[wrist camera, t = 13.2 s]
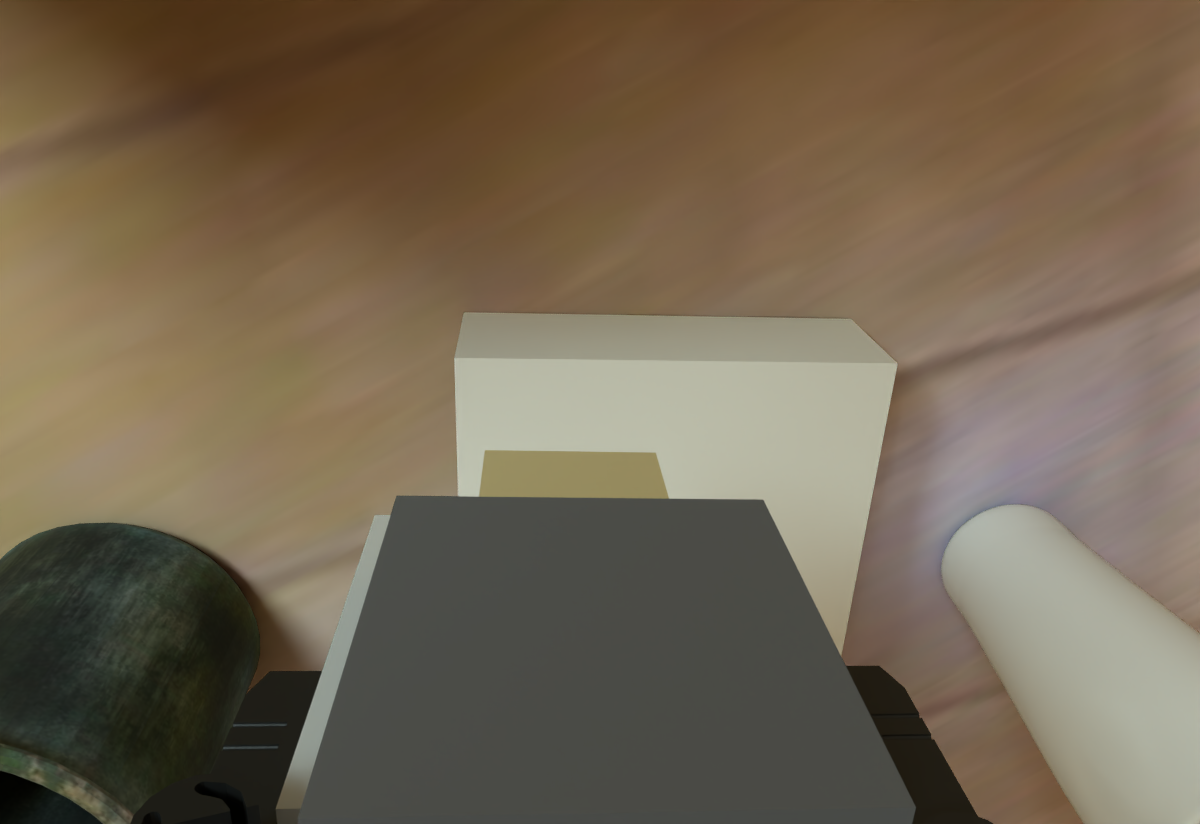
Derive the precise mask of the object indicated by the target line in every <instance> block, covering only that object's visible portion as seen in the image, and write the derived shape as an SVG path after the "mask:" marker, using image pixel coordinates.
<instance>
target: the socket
mask: <svg viewBox="0 0 1200 824" xmlns="http://www.w3.org/2000/svg"><path fill="white" fill-rule="evenodd" d="M454 363H455V400H456V436H457V473H458V496H468V497H479V492H480V484H481V476H482V468H483V460H484V452H485V450H512V451H581V452H650V453H656V455H657V459H658V462H659V466H660V469H661V472H662V476H663V479H664V483H665V486H666V490H667V493H668V497H669V499H757V500H764V502H765V504H766V506H767V508H768V510H769V512H770V514H771V516H772V518H773V520H774V522H775V524H776V526H777V528H778V530H779V532H780V534H781V536H782V538H783V540H784V542H785V544H786V546H787V548H788V551H789V553H790V555H791V557H792V559H793V561H794V563H795V565H796V567H797V569H798V571H799V573H800V575H801V577H802V579H803V581H804V583H805V585H806V587H807V589H808V591H809V593H810V595H811V597H812V599H813V601H814V603H815V605H816V607H817V609H818V611H819V613H820V615H821V617H822V619H823V621H824V623H825V625H826V627H827V629H828V631H829V633H830V635H831V637H832V639H833V641H834V643H835V645H836V647H837V649H838V651H839V653H840V655H841V656H842V650H843V645H844V640H845V635H846V630H847V624H848V619H849V614H850V609H851V604H852V598H853V593H854V588H855V583H856V578H857V572H858V567H859V562H860V557H861V552H862V546H863V541H864V536H865V531H866V526H867V520H868V515H869V510H870V505H871V500H872V494H873V489H874V484H875V479H876V474H877V468H878V463H879V458H880V453H881V448H882V442H883V437H884V432H885V427H886V422H887V416H888V411H889V406H890V401H891V396H892V390H893V385H894V380H895V375H896V370H897V364H898V363H897V362H896V361H895V360H894V359H892V358H891V357H890V356H889V355H888V354H887V353H886V352H885V351H884V350H883V349H882V348H881V347H880V346H879V345H878V344H877V343H876V342H875V341H874V340H873V339H872V338H870V337H869V336H868V335H867V334H866V333H865V332H864V331H863V330H862V329H861V328H860V327H859V326H858V325H857V324H856V323H855V322H854V321H853V320H852V319H831V318H772V317H713V316H654V315H594V314H535V313H476V312H464V314H463V319H462V324H461V329H460V333H459V338H458V343H457V348H456V352H455V357H454Z"/></svg>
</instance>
